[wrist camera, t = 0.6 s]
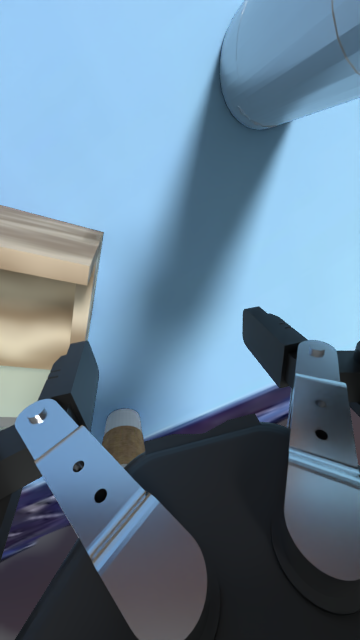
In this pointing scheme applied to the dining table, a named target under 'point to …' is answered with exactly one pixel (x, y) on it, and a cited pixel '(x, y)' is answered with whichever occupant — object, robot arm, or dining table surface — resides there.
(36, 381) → the panel
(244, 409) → the dining table surface
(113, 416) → the coffee cup
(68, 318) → the tray
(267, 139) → the dining table surface
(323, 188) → the dining table surface
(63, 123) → the dining table surface
